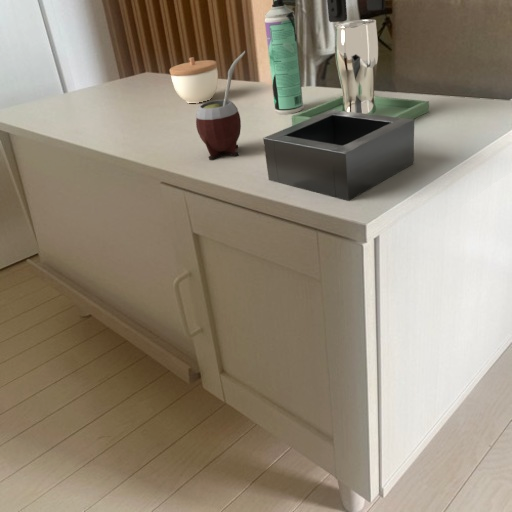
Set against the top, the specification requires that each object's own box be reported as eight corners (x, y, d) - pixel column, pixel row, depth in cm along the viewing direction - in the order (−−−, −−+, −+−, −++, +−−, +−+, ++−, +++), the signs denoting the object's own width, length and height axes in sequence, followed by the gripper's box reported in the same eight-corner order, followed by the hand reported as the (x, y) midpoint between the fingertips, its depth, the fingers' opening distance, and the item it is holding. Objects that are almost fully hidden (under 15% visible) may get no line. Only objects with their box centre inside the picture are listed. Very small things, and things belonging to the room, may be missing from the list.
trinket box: (179, 109, 119) (170, 65, 114) (174, 99, 128) (165, 58, 124) (226, 100, 120) (219, 56, 116) (218, 91, 130) (211, 50, 125)
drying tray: (428, 111, 92) (429, 101, 91) (373, 138, 84) (373, 127, 83) (347, 103, 104) (347, 93, 103) (292, 126, 96) (291, 116, 95)
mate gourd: (193, 158, 88) (174, 62, 80) (227, 142, 92) (212, 51, 85) (226, 163, 83) (208, 62, 76) (259, 147, 88) (246, 50, 80)
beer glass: (353, 124, 90) (348, 27, 83) (331, 116, 96) (325, 25, 88) (388, 114, 92) (386, 19, 85) (364, 107, 98) (361, 18, 90)
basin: (414, 163, 73) (414, 119, 70) (348, 200, 65) (345, 153, 62) (333, 148, 82) (331, 109, 79) (268, 179, 75) (262, 137, 72)
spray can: (305, 105, 107) (295, -6, 98) (300, 113, 103) (290, -3, 93) (278, 107, 109) (265, -2, 99) (272, 115, 104) (259, 2, 94)
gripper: (330, -116, 70) (341, 25, 78) (406, -121, 80) (409, 5, 88) (289, -104, 76) (303, 27, 84) (365, -110, 85) (371, 7, 93)
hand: (357, 15), depth 86 cm, fingers open, 9 cm apart
